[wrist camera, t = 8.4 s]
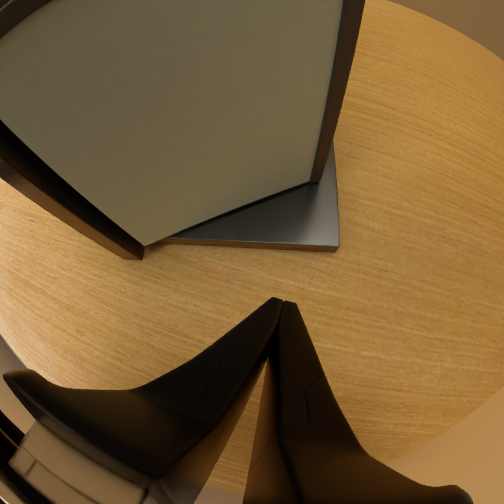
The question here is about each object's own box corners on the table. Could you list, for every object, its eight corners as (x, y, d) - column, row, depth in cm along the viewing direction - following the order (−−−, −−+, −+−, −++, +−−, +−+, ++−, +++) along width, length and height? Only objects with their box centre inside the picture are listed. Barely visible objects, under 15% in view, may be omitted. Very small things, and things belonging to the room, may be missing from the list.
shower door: (321, 180, 18) (377, -75, 3) (145, 249, 17) (-55, 65, 2) (313, 166, 18) (352, -81, 3) (141, 233, 17) (-40, 47, 2)
